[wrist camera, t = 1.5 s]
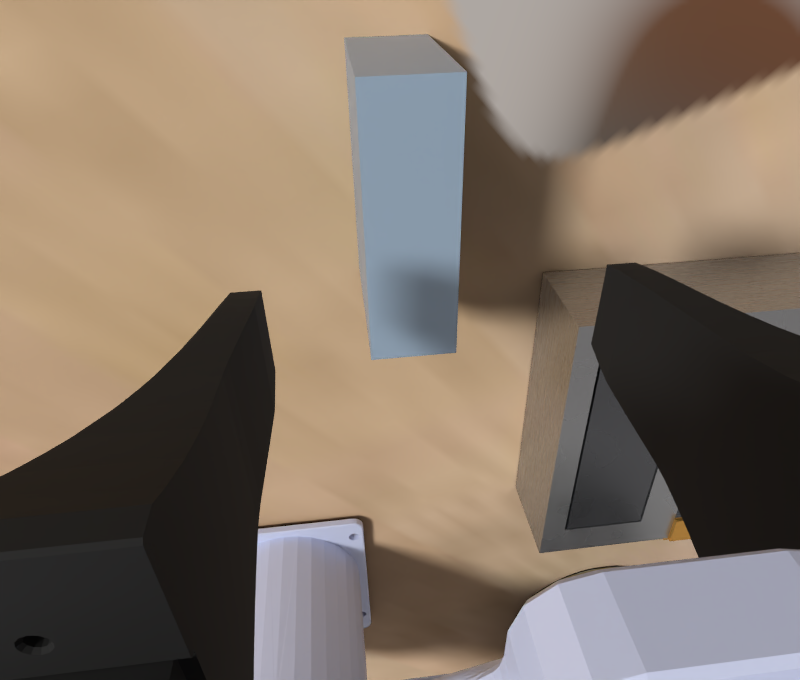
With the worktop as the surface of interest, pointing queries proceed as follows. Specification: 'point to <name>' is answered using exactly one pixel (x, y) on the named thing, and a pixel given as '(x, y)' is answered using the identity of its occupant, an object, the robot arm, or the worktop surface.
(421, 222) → the block
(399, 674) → the worktop surface
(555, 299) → the rack
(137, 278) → the worktop surface
